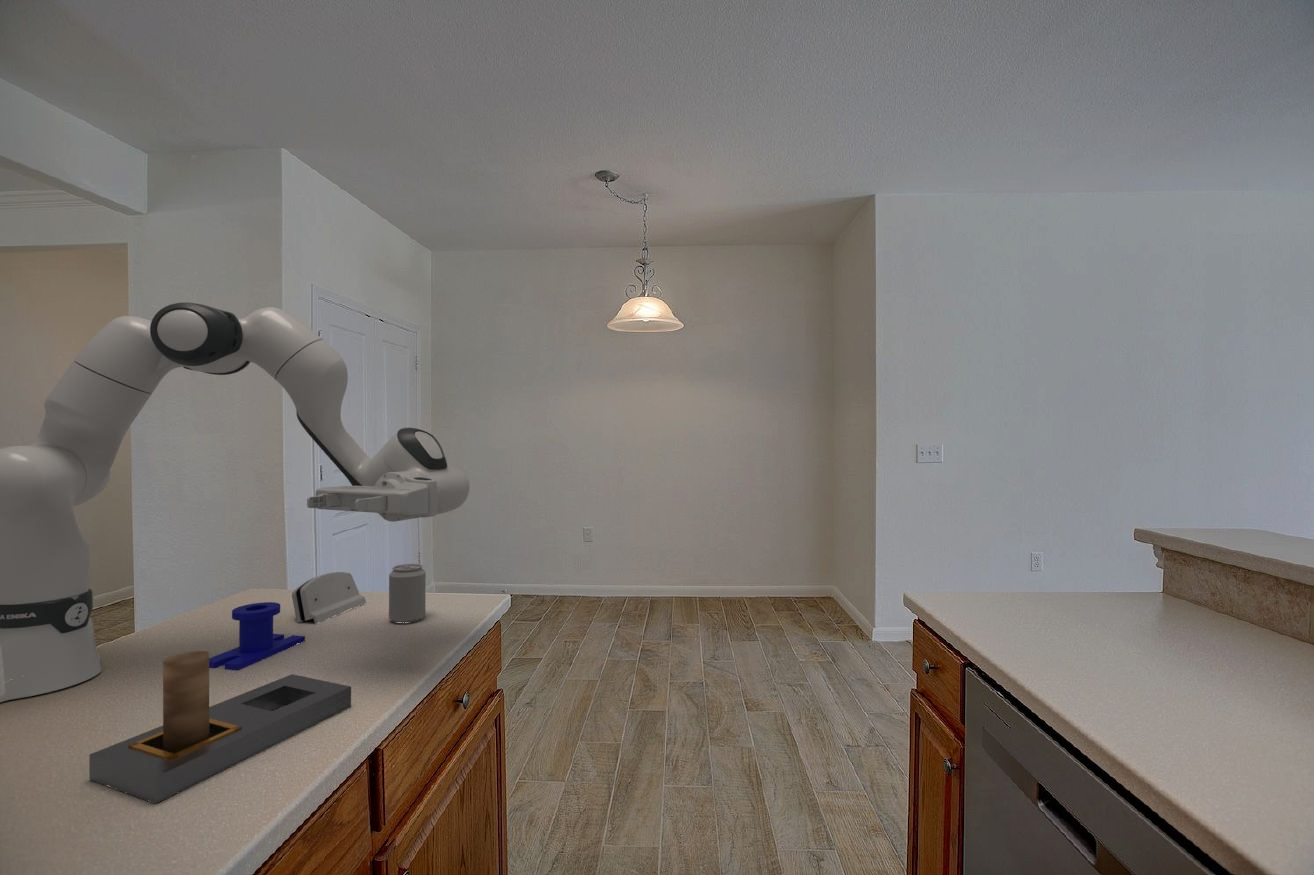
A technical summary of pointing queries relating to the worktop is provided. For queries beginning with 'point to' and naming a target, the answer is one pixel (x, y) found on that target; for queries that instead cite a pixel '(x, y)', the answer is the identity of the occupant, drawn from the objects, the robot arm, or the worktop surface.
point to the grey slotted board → (219, 738)
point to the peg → (185, 700)
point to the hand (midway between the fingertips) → (331, 504)
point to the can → (407, 593)
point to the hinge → (326, 597)
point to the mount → (254, 637)
